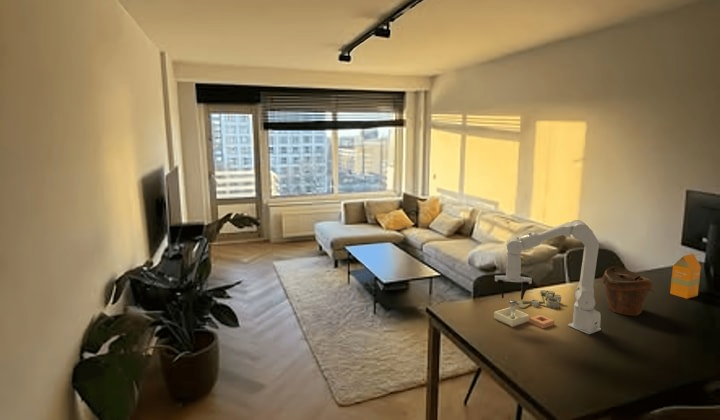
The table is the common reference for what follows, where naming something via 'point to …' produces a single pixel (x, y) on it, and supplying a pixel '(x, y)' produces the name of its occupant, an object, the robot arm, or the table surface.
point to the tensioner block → (541, 321)
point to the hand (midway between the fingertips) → (512, 298)
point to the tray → (504, 317)
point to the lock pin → (512, 308)
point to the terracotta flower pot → (626, 290)
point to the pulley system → (550, 301)
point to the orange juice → (686, 277)
